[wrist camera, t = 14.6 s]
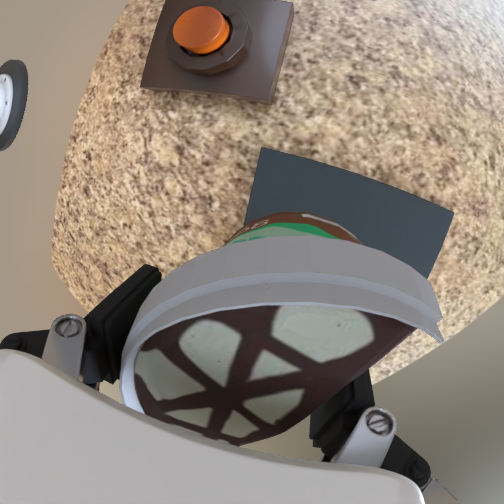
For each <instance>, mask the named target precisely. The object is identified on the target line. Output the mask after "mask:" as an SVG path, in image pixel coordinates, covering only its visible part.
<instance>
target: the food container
mask: <svg viewBox="0 0 504 504" xmlns="http://www.w3.org/2000/svg"><path fill="white" fill-rule="evenodd" d="M442 318H443V317H442V314H441V311H440V308H439V305H438V302H437V299H436V296H435V294H434V291H433V288H432V285H431V283H430V282H429V281H428V280H427V279H426V278H424V277H423V276H422V275H421V274H420V273H418V272H417V271H416V270H415V269H413V268H412V267H411V266H409V265H407V264H406V263H404V262H402V261H400V260H398V259H396V258H394V257H392V256H390V255H388V254H386V253H385V252H383V251H380V250H376V249H373V248H370V247H367V246H364V245H363V244H362V243H361V242H360V241H359V240H358V239H357V238H356V237H355V236H354V235H353V234H352V233H351V232H350V231H349V230H347V229H346V228H344V227H343V226H341V225H340V224H338V223H337V222H335V221H334V220H331V219H328V218H325V217H322V216H319V215H316V214H312V213H309V212H276V213H273V214H270V215H267V216H264V217H261V218H258V219H255V220H252V221H251V222H249V223H248V224H247V225H245V226H244V227H243V228H241V229H240V230H239V231H237V232H236V233H235V234H234V235H233V236H232V237H231V238H230V239H229V240H228V241H227V242H226V243H225V244H224V245H223V246H222V247H221V248H218V249H215V250H213V251H210V252H207V253H204V254H202V255H199V256H197V257H195V258H193V259H192V260H190V261H188V262H187V263H185V264H183V265H181V266H180V267H178V268H176V269H175V270H173V271H172V272H170V273H169V274H168V275H167V276H166V277H165V278H164V279H163V280H162V281H161V282H159V283H158V284H157V285H156V286H155V287H154V288H153V289H152V291H151V292H150V294H149V295H148V296H147V298H146V299H145V301H144V302H143V304H142V305H141V307H140V309H139V311H138V314H137V316H136V318H135V321H134V323H133V325H132V328H131V330H130V333H129V335H128V338H127V340H126V343H125V346H124V349H123V352H122V358H121V371H120V385H119V388H120V392H121V397H122V401H123V404H124V405H125V406H128V407H130V408H132V409H134V410H136V411H138V412H141V413H143V414H145V415H147V416H150V417H152V418H155V419H157V420H159V421H162V422H164V423H167V424H169V425H172V426H175V427H177V428H180V429H183V430H186V431H188V432H191V433H194V434H197V435H200V436H203V437H207V438H210V439H213V440H216V441H220V442H223V443H227V444H231V445H234V446H238V447H239V446H241V445H244V444H248V443H252V442H256V441H259V440H264V439H267V438H270V437H273V436H275V435H278V434H281V433H283V432H285V431H287V430H288V429H289V428H291V427H293V426H294V425H296V424H297V423H299V422H300V421H302V420H303V419H305V418H306V417H307V416H309V415H310V414H311V413H312V412H314V411H315V410H316V409H317V408H319V407H320V406H321V405H322V404H324V403H325V402H326V401H327V400H329V399H330V398H331V397H332V396H334V395H335V394H336V393H338V392H339V391H340V390H341V389H343V388H344V387H345V386H346V385H347V384H349V383H350V382H351V381H353V380H354V379H355V378H357V377H358V376H360V375H361V374H362V373H364V372H365V371H366V370H367V369H369V368H370V367H371V366H373V365H374V364H375V363H376V362H378V361H379V360H380V359H381V358H383V357H384V356H385V355H386V354H388V353H389V352H390V351H391V350H392V349H394V348H395V347H396V346H397V345H399V344H400V343H401V342H402V341H403V340H404V339H406V338H407V337H408V336H409V335H410V334H411V333H413V332H414V331H415V330H416V329H417V328H418V329H421V330H423V331H424V332H426V333H427V334H429V335H430V336H432V337H433V338H435V339H436V340H437V341H439V342H440V343H443V342H444V339H443V337H442V335H441V333H440V331H439V329H438V327H437V325H436V323H437V322H439V321H440V320H441V319H442Z"/></svg>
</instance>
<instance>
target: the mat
mask: <svg viewBox="0 0 504 504" xmlns="http://www.w3.org/2000/svg"><path fill="white" fill-rule="evenodd" d="M276 212H309V213H312V214H316V215H319V216H322V217H325V218H328V219H331V220H334V221H335V222H337V223H338V224H340V225H341V226H343V227H344V228H346V229H347V230H349V231H350V232H351V233H352V234H353V235H354V236H355V237H356V238H357V239H358V240H359V241H360V242H361V243H362V244H363V245H364V246H367V247H370V248H373V249H376V250H380V251H383V252H385V253H386V254H388V255H390V256H392V257H394V258H396V259H398V260H400V261H402V262H404V263H406V264H407V265H409V266H411V267H412V268H413V269H415V270H416V271H417V272H418V273H420V274H421V275H422V276H423V277H424V278H426V279H428V276H429V274H430V272H431V270H432V268H433V266H434V263H435V261H436V259H437V257H438V254H439V252H440V250H441V247H442V245H443V242H444V240H445V237H446V235H447V232H448V229H449V227H450V224H451V221H452V219H453V216H454V212H452V211H449V210H447V209H445V208H443V207H441V206H438V205H436V204H434V203H432V202H429V201H427V200H425V199H422V198H420V197H418V196H415V195H413V194H410V193H408V192H405V191H403V190H400V189H398V188H395V187H392V186H390V185H387V184H384V183H382V182H379V181H376V180H373V179H370V178H368V177H365V176H362V175H359V174H356V173H353V172H350V171H347V170H343V169H340V168H337V167H334V166H331V165H327V164H324V163H321V162H317V161H314V160H310V159H307V158H303V157H299V156H295V155H292V154H288V153H284V152H280V151H276V150H272V149H267V148H263V147H262V148H261V152H260V156H259V160H258V165H257V169H256V173H255V178H254V182H253V187H252V191H251V195H250V200H249V204H248V209H247V213H246V218H245V222H244V226H245V225H247V224H248V223H249V222H251V221H252V220H255V219H258V218H261V217H264V216H267V215H270V214H273V213H276Z"/></svg>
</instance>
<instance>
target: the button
mask: <svg viewBox="0 0 504 504" xmlns="http://www.w3.org/2000/svg"><path fill="white" fill-rule="evenodd" d="M229 34H230V27H229V24H228V23H227V21H226V20H225V18H224V17H223V16H222V14H221V13H220V12H219V11H218V10H217V9H215V8H213V7H208V6H199V7H195V8H192V9H190V10H188V11H186V12H185V13H183V14H182V15H181V16H180V17H179V18H178V20H177V21H176V23H175V25H174V28H173V36H174V39H175V41H176V42H177V43H178V44H179V45H181V46H182V47H184V48H185V49H187V50H188V51H190V52H191V53H194V54H200V55H202V54H209V53H212V52H214V51H216V50H218V49H219V48H221V47H222V46H223V45H224V44H225V42H226V41H227V39H228V37H229Z"/></svg>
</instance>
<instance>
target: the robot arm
mask: <svg viewBox="0 0 504 504" xmlns="http://www.w3.org/2000/svg"><path fill="white" fill-rule="evenodd" d="M12 99H13V83H12V79H11V77H10V76H9V75H8V74H2V75H0V134H1V133H2V132H3V130H4V128H5V126H6V124H7V121H8V118H9V115H10V111H11V106H12ZM161 278H162V274H161V272H159V270H158V268H157V267H154V266H151V265H148V264H145V265H143V266H142V267H141V268H140V269H138V270H137V271H136V272H135V273H134V274H133V275H131V276H130V277H129V278H128V279H127V280H126V281H125V282H124V283H122V284H121V285H120V286H119V287H118V288H116V289H115V290H114V291H113V292H112V293H111V294H109V295H108V296H107V297H106V298H105V299H104V300H103V301H102V302H101V303H100V304H98V305H97V306H96V307H95V308H94V309H93V310H92V311H91V312H90V313H89V314H88V315H87V316H86V317H85V318H82V317H80V316H78V315H73V314H66V315H62V316H60V317H58V318H56V320H54V322H53V323H52V325H51V329H49V330H40V331H30V332H19V333H13V334H10V335H8V336H6V337H5V338H4V339H3V340H2V342H1V344H0V504H460V502H459V501H458V500H457V499H456V498H455V497H454V496H453V495H452V494H451V493H450V492H449V491H448V490H447V489H446V488H445V487H444V486H443V485H442V484H441V483H440V482H439V481H438V480H437V479H436V478H435V477H434V478H432V479H431V477H430V474H431V471H430V467H429V465H428V463H427V462H426V461H425V459H423V458H422V457H421V456H420V455H418V454H417V453H416V452H415V451H414V450H413V449H411V448H410V447H409V446H408V445H407V444H406V443H404V442H403V441H402V440H401V439H400V438H399V437H398V436H396V435H395V432H396V429H397V424H396V420H395V418H394V416H393V415H392V413H391V412H389V411H388V410H386V409H385V408H382V407H378V406H375V402H374V396H373V390H372V384H371V379H370V373H369V369H367V370H366V371H365V372H364V373H362V374H361V375H360V376H358V377H357V378H355V379H354V380H353V381H351V382H350V383H349V384H347V385H346V386H345V387H344V388H343V389H341V390H340V391H339V392H338V393H336V394H335V395H334V396H332V397H331V398H330V399H329V400H327V401H326V402H325V403H324V404H322V405H321V406H320V407H319V408H317V409H316V410H315V411H314V412H312V413H311V416H310V435H309V437H310V439H313V447H319V448H321V451H322V452H323V453H324V454H323V456H322V457H321V458H320V460H319V461H312V460H304V459H297V458H291V457H285V456H279V455H274V454H269V453H264V452H259V451H255V450H250V449H246V448H242V447H238V446H234V445H231V444H227V443H223V442H220V441H216V440H213V439H210V438H207V437H203V436H200V435H197V434H194V433H191V432H188V431H186V430H183V429H180V428H177V427H175V426H172V425H169V424H167V423H164V422H162V421H159V420H157V419H155V418H152V417H150V416H147V415H145V414H143V413H141V412H138V411H136V410H134V409H132V408H130V407H128V406H125V405H123V404H121V403H119V402H117V401H115V400H113V399H111V398H109V397H108V396H106V395H104V394H102V393H100V392H99V384H100V382H102V381H103V380H105V381H107V382H109V383H111V384H114V382H115V381H116V380H117V379H119V380H120V371H121V358H122V352H123V349H124V346H125V343H126V340H127V338H128V335H129V333H130V330H131V328H132V325H133V323H134V321H135V318H136V316H137V314H138V311H139V309H140V307H141V305H142V304H143V302H144V301H145V299H146V298H147V296H148V295H149V294H150V292H151V291H152V289H153V288H154V287H155V286H156V285H157V284H158V283H159V282H161Z"/></svg>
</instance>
